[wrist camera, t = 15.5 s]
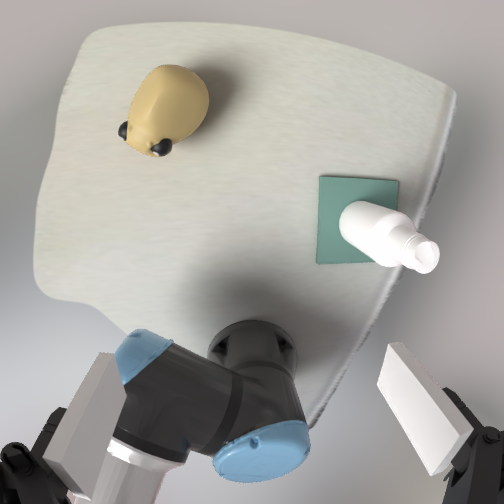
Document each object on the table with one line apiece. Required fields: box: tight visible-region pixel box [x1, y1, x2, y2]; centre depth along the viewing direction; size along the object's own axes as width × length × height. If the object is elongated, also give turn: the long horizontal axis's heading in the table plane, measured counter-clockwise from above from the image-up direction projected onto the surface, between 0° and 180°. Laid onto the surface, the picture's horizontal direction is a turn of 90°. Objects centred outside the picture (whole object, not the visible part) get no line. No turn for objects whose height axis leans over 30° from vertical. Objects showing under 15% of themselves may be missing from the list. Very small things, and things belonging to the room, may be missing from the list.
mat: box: [316, 176, 398, 264], centre depth 44 cm, size 13×13×1 cm
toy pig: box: [118, 65, 209, 157], centre depth 33 cm, size 10×12×11 cm
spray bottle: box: [339, 201, 440, 274], centre depth 34 cm, size 7×7×18 cm
